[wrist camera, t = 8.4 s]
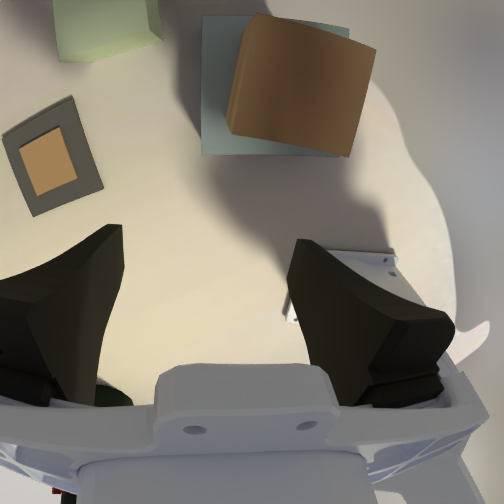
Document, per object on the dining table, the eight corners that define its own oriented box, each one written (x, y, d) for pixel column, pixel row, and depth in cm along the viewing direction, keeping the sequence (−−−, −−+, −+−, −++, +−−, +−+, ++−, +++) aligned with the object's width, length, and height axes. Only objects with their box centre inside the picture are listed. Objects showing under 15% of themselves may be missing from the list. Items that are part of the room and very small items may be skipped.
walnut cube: (332, 53, 14) (376, 49, 10) (313, 134, 16) (348, 157, 12) (242, 31, 13) (256, 12, 9) (225, 118, 15) (231, 134, 11)
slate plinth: (325, 35, 16) (349, 28, 13) (317, 142, 21) (338, 157, 17) (203, 27, 15) (202, 15, 12) (202, 141, 20) (201, 155, 16)
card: (73, 98, 16) (70, 99, 16) (104, 187, 20) (102, 190, 19) (3, 138, 16) (0, 139, 16) (34, 215, 20) (31, 218, 19)
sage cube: (154, -22, 13) (140, -48, 8) (163, 41, 15) (149, 30, 11) (83, 1, 12) (51, -14, 8) (91, 63, 15) (59, 61, 11)
